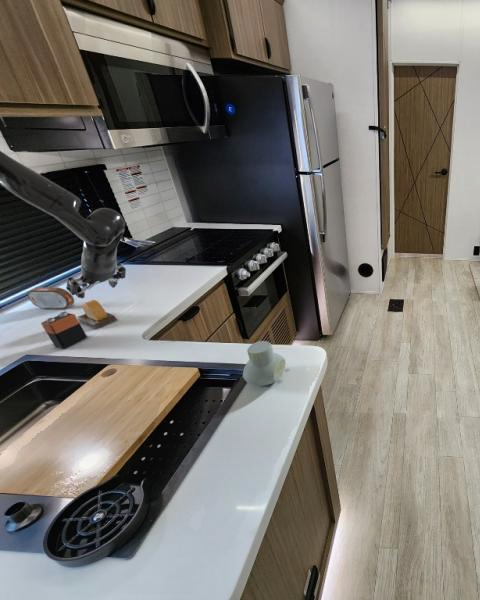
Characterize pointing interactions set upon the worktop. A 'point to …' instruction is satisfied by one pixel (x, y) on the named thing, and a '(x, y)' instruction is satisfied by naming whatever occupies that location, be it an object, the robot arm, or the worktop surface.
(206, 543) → the worktop surface
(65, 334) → the battery
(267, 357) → the air freshener
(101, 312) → the tape roll
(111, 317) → the tape holder
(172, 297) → the worktop surface
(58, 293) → the tin
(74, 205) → the robot arm
